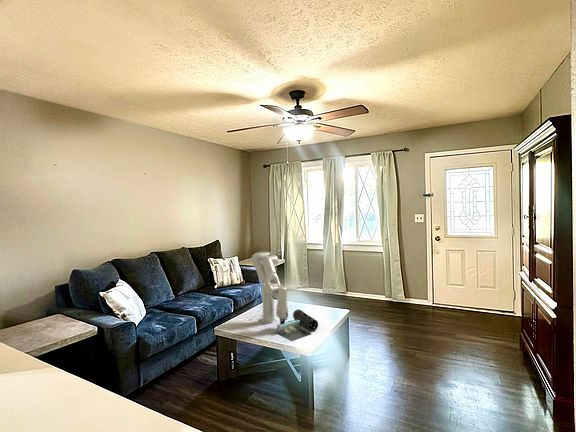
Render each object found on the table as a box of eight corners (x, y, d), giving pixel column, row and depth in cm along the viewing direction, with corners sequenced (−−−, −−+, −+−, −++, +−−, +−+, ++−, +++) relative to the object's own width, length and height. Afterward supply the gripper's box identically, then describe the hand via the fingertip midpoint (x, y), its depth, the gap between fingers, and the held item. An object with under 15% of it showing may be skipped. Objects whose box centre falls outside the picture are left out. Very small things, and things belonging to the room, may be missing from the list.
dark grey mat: (273, 333, 239) (273, 331, 239) (293, 326, 252) (293, 325, 252) (291, 342, 222) (291, 340, 222) (312, 335, 235) (312, 333, 235)
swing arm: (279, 333, 236) (279, 326, 235) (276, 331, 238) (276, 325, 238) (300, 326, 249) (300, 319, 249) (297, 324, 252) (297, 318, 252)
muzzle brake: (307, 333, 238) (307, 320, 238) (292, 321, 264) (291, 309, 264) (318, 331, 242) (318, 318, 242) (302, 320, 268) (302, 308, 268)
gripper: (272, 301, 250) (273, 324, 251) (284, 306, 239) (284, 329, 239) (280, 299, 255) (280, 322, 255) (292, 304, 243) (292, 327, 244)
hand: (282, 325), depth 247 cm, fingers closed
